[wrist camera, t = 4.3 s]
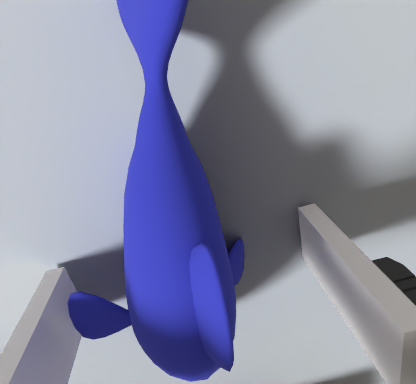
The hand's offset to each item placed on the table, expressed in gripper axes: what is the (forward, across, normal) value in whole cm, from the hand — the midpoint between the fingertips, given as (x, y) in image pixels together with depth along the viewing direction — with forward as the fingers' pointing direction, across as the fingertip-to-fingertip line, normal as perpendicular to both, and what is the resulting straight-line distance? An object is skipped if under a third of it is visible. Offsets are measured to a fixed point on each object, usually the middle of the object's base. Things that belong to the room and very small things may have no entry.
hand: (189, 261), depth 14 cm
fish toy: (+1, 0, -4) cm, 4 cm away
